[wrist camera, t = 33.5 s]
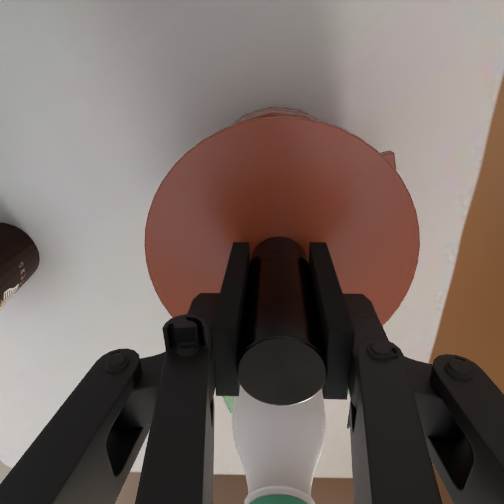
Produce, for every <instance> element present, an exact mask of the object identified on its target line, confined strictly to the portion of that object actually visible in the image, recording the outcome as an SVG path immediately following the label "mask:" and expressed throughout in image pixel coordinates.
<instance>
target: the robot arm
mask: <svg viewBox="0 0 504 504" xmlns="http://www.w3.org/2000/svg"><path fill="white" fill-rule="evenodd" d="M308 265H309V270H310V276H311V281H312V286H313V292H314V297H315V302H316V307H317V313H318V318H319V323H320V329H321V334H322V339H323V344H324V350H325V355H326V360H327V366H328V375H327V379H326V382H325V384H324V386H323V387H322V394H323V399H346V400H347V394H348V389H349V393H350V397H351V402H350V410H349V417H348V425H347V428H349V429H350V434H351V452H352V471H353V489H354V504H442V500H441V496H440V493H439V489H438V485H437V481H436V478H435V474H434V470H433V466H432V462H433V464H434V466H435V468H436V470H437V472H438V474H439V476H440V478H441V479H442V481H443V483H444V485H445V487H446V489H447V491H448V493H449V495H450V497H451V498H452V500H453V502H454V504H504V394H503V393H502V392H501V391H500V390H499V388H498V387H497V386H496V385H495V384H494V383H493V382H492V380H491V379H490V378H489V377H488V376H487V375H486V373H485V372H484V371H483V370H482V369H481V368H480V367H479V366H478V365H476V364H475V363H474V362H472V361H470V360H468V359H466V358H463V357H460V356H457V355H448V354H446V355H441V356H438V357H437V358H435V360H434V362H433V365H432V364H428V363H423V362H419V361H415V360H412V359H409V358H407V357H405V356H403V353H402V352H401V350H400V348H398V347H397V346H396V345H395V344H393V343H391V342H389V340H388V338H387V336H386V334H385V331H384V329H383V327H382V325H381V322H380V320H379V318H378V316H377V313H376V311H375V309H374V307H373V304H372V302H371V301H370V300H369V299H368V298H367V297H366V296H365V295H363V294H344V293H342V290H341V287H340V284H339V280H338V277H337V274H336V271H335V268H334V265H333V262H332V259H331V256H330V253H329V250H328V246H327V243H326V242H310V244H309V264H308ZM249 267H250V246H249V242H233V245H232V249H231V253H230V256H229V260H228V264H227V268H226V272H225V275H224V279H223V283H222V287H221V291H220V293H200V294H198V295H197V296H196V297H195V298H194V299H193V300H192V302H191V305H190V308H189V310H188V313H187V314H184V315H179V316H176V317H174V318H171V319H170V320H169V321H167V322H166V323H165V325H164V327H163V334H164V340H165V347H166V352H164V353H161V354H159V355H155V356H151V357H146V358H142V359H140V358H139V354H138V353H136V352H135V351H134V350H130V349H118V350H114V351H110V352H109V353H107V354H105V355H103V356H102V357H101V358H100V359H99V360H97V361H96V363H95V364H94V365H93V367H92V368H91V369H90V370H89V372H88V373H87V374H86V375H85V377H84V378H83V379H82V381H81V382H80V383H79V384H78V386H77V387H76V388H75V389H74V391H73V392H72V393H71V395H70V396H69V397H68V398H67V400H66V401H65V402H64V404H63V405H62V406H61V407H60V409H59V410H58V411H57V412H56V414H55V415H54V416H53V418H52V419H51V420H50V421H49V423H48V424H47V425H46V427H45V428H44V429H43V430H42V432H41V433H40V434H39V435H38V437H37V438H36V439H35V441H34V442H33V443H32V444H31V446H30V447H29V448H28V450H27V451H26V452H25V453H24V455H23V456H22V457H21V458H20V460H19V461H18V462H17V464H16V465H15V466H14V467H13V469H12V470H11V471H10V473H9V474H8V475H7V476H6V478H5V479H4V480H3V481H2V483H1V484H0V504H115V502H116V500H117V497H118V495H119V493H120V491H121V489H122V487H123V485H124V483H125V481H126V478H127V476H128V474H129V472H130V470H131V468H132V466H133V464H134V462H135V460H136V457H137V455H138V453H139V451H140V449H141V447H142V445H143V443H144V441H145V438H146V436H147V434H148V432H149V430H150V432H149V437H148V442H147V447H146V452H145V457H144V462H143V467H142V472H141V477H140V482H139V487H138V492H137V496H136V502H135V504H213V463H214V398H213V396H214V391H215V387H216V396H239V391H240V383H239V381H238V378H237V375H236V362H237V355H238V348H239V340H240V333H241V326H242V319H243V311H244V304H245V297H246V289H247V282H248V275H249ZM431 460H432V462H431Z"/></svg>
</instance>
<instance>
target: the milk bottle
mask: <svg viewBox="0 0 504 504" xmlns="http://www.w3.org/2000/svg"><path fill="white" fill-rule="evenodd" d="M232 428H233V436H234V441H235V445H236V449H237V452H238V454H239V457H240V460H241V462H242V465H243V468H244V471H245V475H246V479H247V485H248V496H247V497H246V499H245V501H244V504H315V503H314V501H313V499H312V498H311V486H312V480H313V476H314V472H315V469H316V466H317V463H318V461H319V458H320V455H321V452H322V449H323V444H324V439H325V430H326V418H325V409H324V399H323V394H322V389H321V390H320V391H319V392H318V393H317V394H316V395H315V396H314V397H312V398H311V399H309V400H307V401H305V402H302V403H299V404H295V405H289V406H276V405H270V404H266V403H263V402H261V401H258V400H256V399H255V398H253V397H251V396H250V395H249V394H248V393H246V391H245V390H244V389H243V388H242V386H241V385H240V391H239V396H234V400H233V412H232Z"/></svg>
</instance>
